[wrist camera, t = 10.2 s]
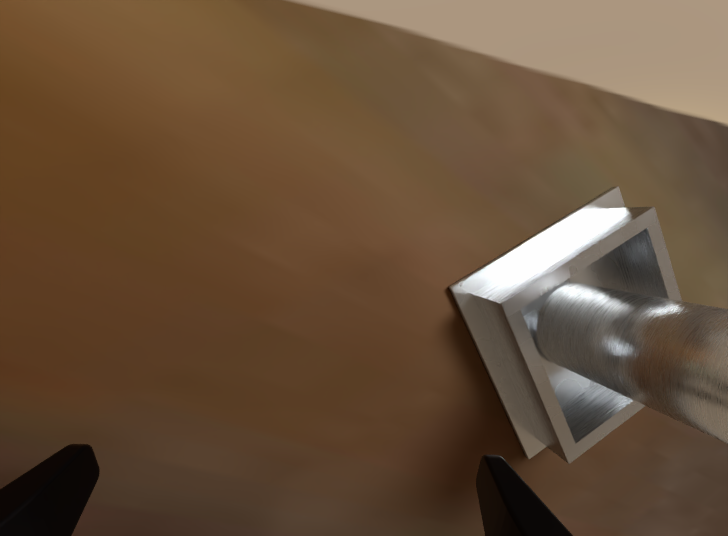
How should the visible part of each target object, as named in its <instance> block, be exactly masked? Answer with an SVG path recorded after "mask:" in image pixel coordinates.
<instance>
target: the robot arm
mask: <svg viewBox="0 0 728 536" xmlns="http://www.w3.org/2000/svg"><path fill="white" fill-rule="evenodd" d="M98 477H99V466H98V463H97V460H96V457H95V454H94V452H93V449H92V447H91V446H90V445H88V444H71V445H68V446H66V447H64V448H63V449H61V450H60V451H58V452H57V453H55V454H54V455H52V456H51V457H49V458H48V459H46V460H44V461H43V462H41V463H40V464H38V465H37V466H35V467H34V468H32V469H31V470H29V471H28V472H26V473H25V474H23V475H22V476H20V477H18V478H17V479H15V480H14V481H12V482H11V483H9V484H8V485H6V486H5V487H3V488H2V489H0V536H71V535H72V533H73V531H74V529H75V527H76V525H77V523H78V521H79V518H80V516H81V514H82V512H83V510H84V508H85V506H86V504H87V502H88V499H89V497H90V495H91V493H92V491H93V489H94V487H95V485H96V482H97V480H98ZM476 487H477V493H478V499H479V504H480V510H481V515H482V520H483V526H484V531H485V536H573V535H572V534H571V533H570V532H569V531H568V530H567V529H566V527H565V526H564V525H563V524H562V523H561V522H560V521H559V520H558V519H557V517H556V516H555V515H554V514H553V513H552V512H551V511H550V510H549V509H548V507H547V506H546V505H545V504H544V503H543V502H542V501H541V500H540V498H539V497H538V496H537V495H536V494H535V493H534V492H533V491H532V490H531V488H530V487H529V486H528V485H527V484H526V483H525V482H524V481H523V480H522V478H521V477H520V476H519V475H518V474H517V473H516V472H515V471H514V470H513V468H512V467H511V466H510V465H509V464H508V463H507V462H506V461H505V460H504V458H503V457H501V456H499V455H483V456H482V458H481V461H480V465H479V470H478V474H477V478H476Z"/></svg>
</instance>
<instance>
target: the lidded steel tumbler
mask: <svg viewBox="0 0 728 536" xmlns="http://www.w3.org/2000/svg"><path fill="white" fill-rule="evenodd" d="M536 334H537V341H538V344H539V347H540V349H541V351H542V353H543V354H544V355H545V357H546V358H547V359H548V360H550V361H551V362H553V363H555V364H557V365H559V366H561V367H563V368H565V369H568V370H570V371H572V372H574V373H576V374H578V375H580V376H583V377H585V378H587V379H589V380H591V381H593V382H596V383H598V384H600V385H602V386H604V387H606V388H608V389H611V390H613V391H615V392H617V393H619V394H621V395H624V396H626V397H628V398H630V399H632V400H634V401H637V402H639V403H641V404H643V405H645V406H647V407H649V408H652V409H654V410H656V411H658V412H660V413H662V414H665V415H667V416H669V417H671V418H673V419H675V420H678V421H680V422H682V423H684V424H686V425H688V426H690V427H693V428H695V429H697V430H699V431H701V432H703V433H706V434H708V435H710V436H712V437H714V438H716V439H719V440H721V441H723V442H725V443H727V444H728V309H723V308H718V307H712V306H706V305H701V304H695V303H689V302H683V301H678V300H672V299H666V298H661V297H655V296H649V295H644V294H638V293H632V292H627V291H621V290H615V289H610V288H604V287H598V286H592V285H587V284H581V283H571V284H567V285H564V286H562V287H560V288H559V289H557V290H556V291H554V292H553V293H552V294H551V295H550V296H549V297H548V299H547V300H546V301H545V303H544V304H543V306H542V308H541V310H540V313H539V316H538V320H537V327H536Z"/></svg>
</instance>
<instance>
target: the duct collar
mask: <svg viewBox="0 0 728 536" xmlns="http://www.w3.org/2000/svg"><path fill="white" fill-rule="evenodd" d="M571 283H581V284H587V285H592V286H598V287H604V288H610V289H615V290H621V291H627V292H632V293H638V294H644V295H649V296H655V297H661V298H666V299H672V300H678V301H682V299H681V296H680V292H679V289H678V286H677V282H676V279H675V275H674V272H673V269H672V265H671V262H670V258H669V255H668V252H667V248H666V245H665V241H664V238H663V235H662V231H661V228H660V224H659V221H658V218H657V214H656V211H655V207H634V208H625V205H624V202H623V199H622V196H621V193H620V189H619V186H617V187H613V188H611V189H609V190H608V191H606V192H604V193H603V194H601V195H599V196H598V197H596V198H594V199H593V200H591V201H590V202H588V203H586V204H585V205H583V206H581V207H580V208H578V209H576V210H575V211H573V212H571V213H570V214H568V215H566V216H565V217H563V218H561V219H560V220H558V221H556V222H555V223H553V224H551V225H550V226H548V227H546V228H545V229H543V230H541V231H540V232H538V233H536V234H535V235H533V236H532V237H530V238H528V239H527V240H525V241H523V242H522V243H520V244H518V245H517V246H515V247H513V248H512V249H510V250H508V251H507V252H505V253H503V254H502V255H500V256H498V257H497V258H495V259H493V260H492V261H490V262H488V263H487V264H485V265H483V266H482V267H480V268H478V269H477V270H475V271H474V272H472V273H470V274H469V275H467V276H465V277H464V278H462V279H460V280H459V281H457V282H455V283H454V284H452V285H450V286H449V289H450V291H451V294H452V296H453V298H454V300H455V302H456V305H457V307H458V309H459V311H460V313H461V316H462V318H463V320H464V322H465V324H466V327H467V329H468V331H469V333H470V335H471V338H472V340H473V342H474V344H475V346H476V349H477V351H478V353H479V355H480V357H481V360H482V362H483V364H484V366H485V368H486V371H487V373H488V375H489V377H490V379H491V381H492V384H493V386H494V388H495V390H496V392H497V395H498V397H499V399H500V401H501V403H502V406H503V408H504V410H505V412H506V414H507V417H508V419H509V421H510V423H511V425H512V428H513V430H514V432H515V434H516V436H517V439H518V441H519V443H520V445H521V447H522V450H523V452H524V454H525V456H526V457H527V458H528V459H530V458H532V457H533V456H534V455H536V454H537V453H538V452H540V451H541V450H542V449H544V448H545V447H548V448H549V449H550V450H552V451H553V452H554V453H556V454H557V455H558V456H559V457H561V458H562V459H563V460H565V461H566V462H567V463H568V464H570V463H571V462H572V461H574V460H575V459H576V458H578V457H579V456H580V455H581V454H583V453H584V452H585V451H587V450H588V449H589V448H591V447H592V446H593V445H595V444H596V443H597V442H598V441H600V440H601V439H602V438H604V437H605V436H606V435H608V434H609V433H610V432H612V431H613V430H614V429H616V428H617V427H618V426H619V425H621V424H622V423H623V422H625V421H626V420H627V419H629V418H630V417H631V416H633V415H634V414H635V413H636V412H638V411H639V410H640V409H642V408H643V407H644V406H645V405H643V404H641V403H639V402H637V401H634V400H632V399H630V398H628V397H626V396H624V395H621V394H619V393H617V392H615V391H613V390H611V389H608V388H606V387H604V386H602V385H600V384H598V383H596V382H593V381H591V380H589V379H587V378H585V377H583V376H580V375H578V374H576V373H574V372H572V371H570V370H568V369H565V368H563V367H561V366H559V365H557V364H555V363H553V362H551V361H550V360H548V359H547V358H546V357H545V355H544V354H543V353H542V351H541V349H540V347H539V344H538V341H537V334H536V327H537V320H538V316H539V313H540V310H541V308H542V306H543V304H544V303H545V301H546V300H547V299H548V297H549V296H550V295H551V294H552V293H553V292H554V291H556V290H557V289H559V288H560V287H562V286H564V285H567V284H571Z"/></svg>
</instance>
